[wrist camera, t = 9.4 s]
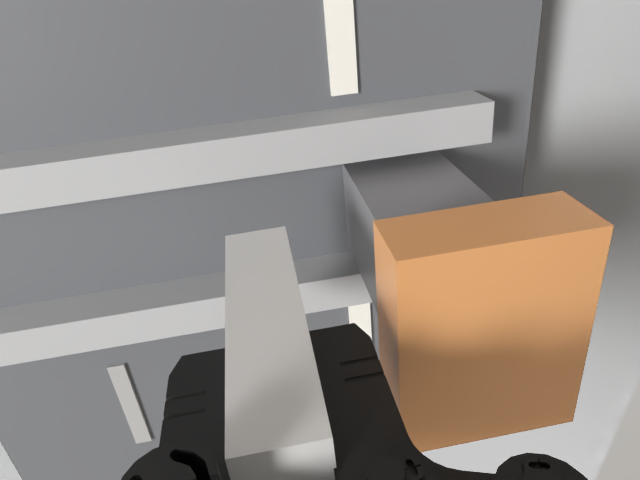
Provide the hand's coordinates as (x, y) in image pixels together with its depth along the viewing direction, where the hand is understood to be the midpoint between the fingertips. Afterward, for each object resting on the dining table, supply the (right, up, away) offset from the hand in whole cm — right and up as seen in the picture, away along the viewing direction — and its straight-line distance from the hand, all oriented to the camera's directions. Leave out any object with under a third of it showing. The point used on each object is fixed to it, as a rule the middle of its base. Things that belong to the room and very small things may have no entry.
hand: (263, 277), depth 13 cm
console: (-2, +2, +5) cm, 5 cm away
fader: (+4, +2, +3) cm, 6 cm away
